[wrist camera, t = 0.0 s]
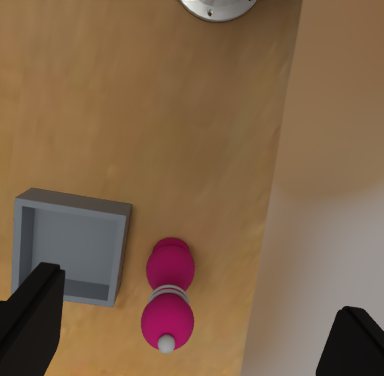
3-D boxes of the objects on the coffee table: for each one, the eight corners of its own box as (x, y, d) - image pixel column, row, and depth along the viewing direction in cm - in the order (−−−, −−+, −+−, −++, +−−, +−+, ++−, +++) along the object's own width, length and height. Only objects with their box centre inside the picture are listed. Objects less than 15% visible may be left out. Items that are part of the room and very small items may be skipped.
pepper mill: (147, 272, 51) (126, 376, 32) (151, 232, 49) (132, 316, 30) (190, 276, 51) (196, 381, 32) (196, 237, 49) (206, 323, 30)
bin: (32, 187, 46) (14, 197, 41) (131, 204, 48) (126, 216, 43) (27, 275, 50) (11, 293, 45) (119, 288, 51) (113, 307, 47)
